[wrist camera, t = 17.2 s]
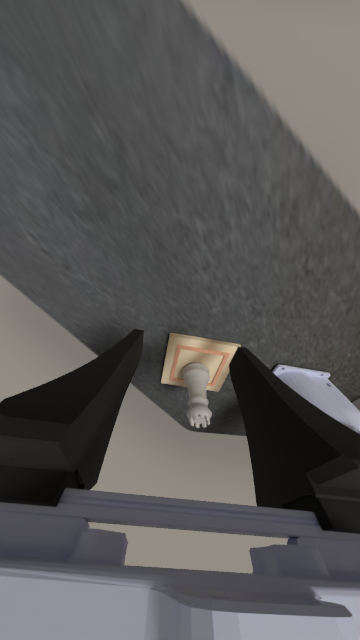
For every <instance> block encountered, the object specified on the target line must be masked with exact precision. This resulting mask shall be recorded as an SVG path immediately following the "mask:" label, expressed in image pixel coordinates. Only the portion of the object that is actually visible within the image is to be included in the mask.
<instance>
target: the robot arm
mask: <svg viewBox="0 0 360 640" xmlns="http://www.w3.org/2000/svg"><path fill="white" fill-rule="evenodd" d="M143 332H144V330H138V329H135V330H133V331H132V332H131V333H130V334H128V335H127V336H126V337H125V338H124V339H122V340H121V341H120V342H119V343H117V344H116V345H115V346H113V347H112V348H111V349H109V350H108V351H106V352H105V353H103V354H102V355H100V356H99V357H97V358H96V359H94V360H92V361H91V362H89V363H87V364H85V365H83V366H82V367H80V368H78V369H76V370H74V371H72V372H70V373H68V374H66V375H63V376H61V377H59V378H57V379H55V380H52V381H50V382H48V383H46V384H43V385H40V386H38V387H35V388H33V389H30V390H28V391H25V392H22V393H20V394H17V395H15V396H12V397H9V398H6V399H4V400H3V401H1V402H0V640H360V411H359V410H358V409H357V408H356V407H355V406H354V405H353V404H352V403H351V402H350V401H349V400H348V399H347V398H346V397H345V396H344V395H343V394H342V393H341V392H340V391H339V390H338V389H337V388H336V387H335V386H334V385H333V384H332V383H331V382H330V381H329V380H328V379H327V378H329V377H330V374H329V373H328V372H322V371H316V370H310V369H304V368H298V367H292V366H286V365H277V366H276V367H275V369H274V370H273V371H271V370H270V369H268V368H267V367H266V366H265V365H264V364H263V363H262V362H261V361H260V360H259V359H258V358H257V357H256V356H255V355H254V354H252V353H251V352H250V351H249V350H248V349H247V348H244V347H238V348H237V350H236V352H235V354H234V356H233V358H232V360H231V362H230V364H229V370H230V376H231V380H232V383H233V386H234V390H235V393H236V396H237V399H238V402H239V405H240V408H241V412H242V416H243V420H244V425H245V430H246V435H247V440H248V445H249V451H250V457H251V464H252V470H253V477H254V486H255V494H256V503H257V506H248V505H237V504H227V503H216V502H206V501H195V500H186V499H175V498H164V497H155V496H144V495H134V494H123V493H113V492H103V491H92V490H90V489H91V488H92V487H93V486H94V485H95V484H96V483H97V480H98V477H99V474H100V470H101V467H102V464H103V460H104V457H105V453H106V450H107V447H108V444H109V441H110V437H111V434H112V431H113V428H114V425H115V422H116V419H117V416H118V412H119V409H120V406H121V404H122V401H123V398H124V395H125V393H126V391H127V388H128V386H129V384H130V382H131V379H132V377H133V375H134V373H135V370H136V368H137V366H138V363H139V360H140V357H141V354H142V346H143ZM88 522H97V523H109V524H120V525H132V526H144V527H156V528H169V529H180V530H193V531H205V532H217V533H229V534H242V535H254V536H265V537H277V538H289V539H288V542H287V545H271V546H268V547H260V548H250V556H251V561H252V565H253V573H252V574H248V573H233V572H218V571H203V570H187V569H172V568H157V567H139V566H126V565H124V561H125V554H126V549H127V544H128V541H127V539H126V535H125V533H119V532H113V531H106V530H100V529H89V524H88Z"/></svg>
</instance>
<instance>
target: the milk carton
mask: <svg viewBox="0 0 360 640" xmlns="http://www.w3.org/2000/svg"><path fill="white" fill-rule="evenodd" d="M352 404H353V405H354V406H355V407H356V408H357V409H358V410H359V411H360V398H359V399H357V400H355V401H354V402H352Z"/></svg>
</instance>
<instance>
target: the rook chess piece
mask: <svg viewBox="0 0 360 640" xmlns="http://www.w3.org/2000/svg"><path fill="white" fill-rule="evenodd" d="M183 379H184V382H185V383H186V386H187V387H188V391H189V401H188V404H189V406H190V408H189V410H188V411H187V414H186V415H187V417H188V419H189V423H190V425H191V426H194V423H195V428H199V424H202V427H203V428H204V427H207V426H206V423H207V425H210V418H211V416H212V412H211V411H210V410H209V409H208V408H207V405H208V403H209V402H208V400H207V398H206V387H207V384H208V382H209V379H210V376H209V369H208V368H207V367H206V366H205V365H204V364H202V363H197V362H195V363H190V364H188V365H187V366H186V367H185V368H184V369H183Z"/></svg>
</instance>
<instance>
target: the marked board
mask: <svg viewBox="0 0 360 640" xmlns="http://www.w3.org/2000/svg"><path fill="white" fill-rule="evenodd" d="M238 347H241V345H240V344H235V343H229V342H223V341H218V340H212V339H206V338H200V337H194V336H188V335H182V334H177V333H171V332H170V336H169V341H168V347H167V352H166V357H165V363H164V368H163V374H162V379H161V383H164V384H171V385H178V386H184V387H187V386H186V383H185V382H184V379H183V369H184V368H185V367H186V366H187V365H188V364H190V363H195V362H197V363H202V364H204V365H205V366H206V367H207V368H208V369H209V376H210V379H209V382H208V384H207V387H206V390H211V391H218V392H219V390H220V388H221V386H222V384H223V382H224V380H225V378H226V377H227V375H228V373H229V371H230V370H229V364H230V362H231V360H232V358H233V356H234V354H235V352H236V350H237V348H238Z"/></svg>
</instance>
